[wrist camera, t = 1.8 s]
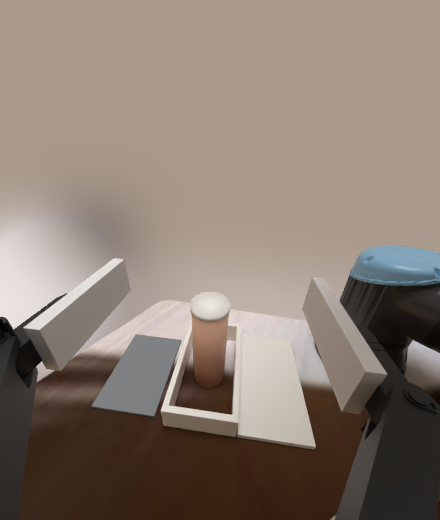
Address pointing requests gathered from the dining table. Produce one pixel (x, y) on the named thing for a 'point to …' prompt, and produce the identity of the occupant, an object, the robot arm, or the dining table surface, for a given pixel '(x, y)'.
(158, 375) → the felt mat
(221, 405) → the dining table surface
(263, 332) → the dining table surface
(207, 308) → the tube
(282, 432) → the white holder tray
